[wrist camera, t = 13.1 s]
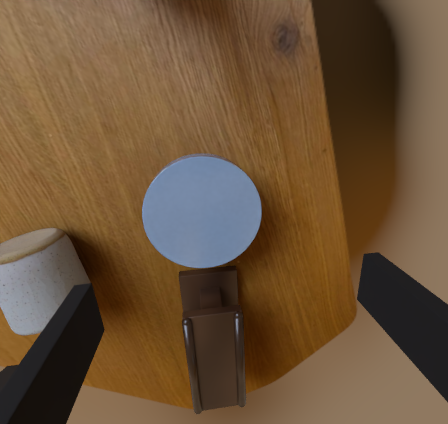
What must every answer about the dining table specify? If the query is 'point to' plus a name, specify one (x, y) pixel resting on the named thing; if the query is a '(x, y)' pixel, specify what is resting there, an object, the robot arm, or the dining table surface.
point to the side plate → (201, 211)
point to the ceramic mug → (37, 278)
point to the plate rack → (213, 337)
